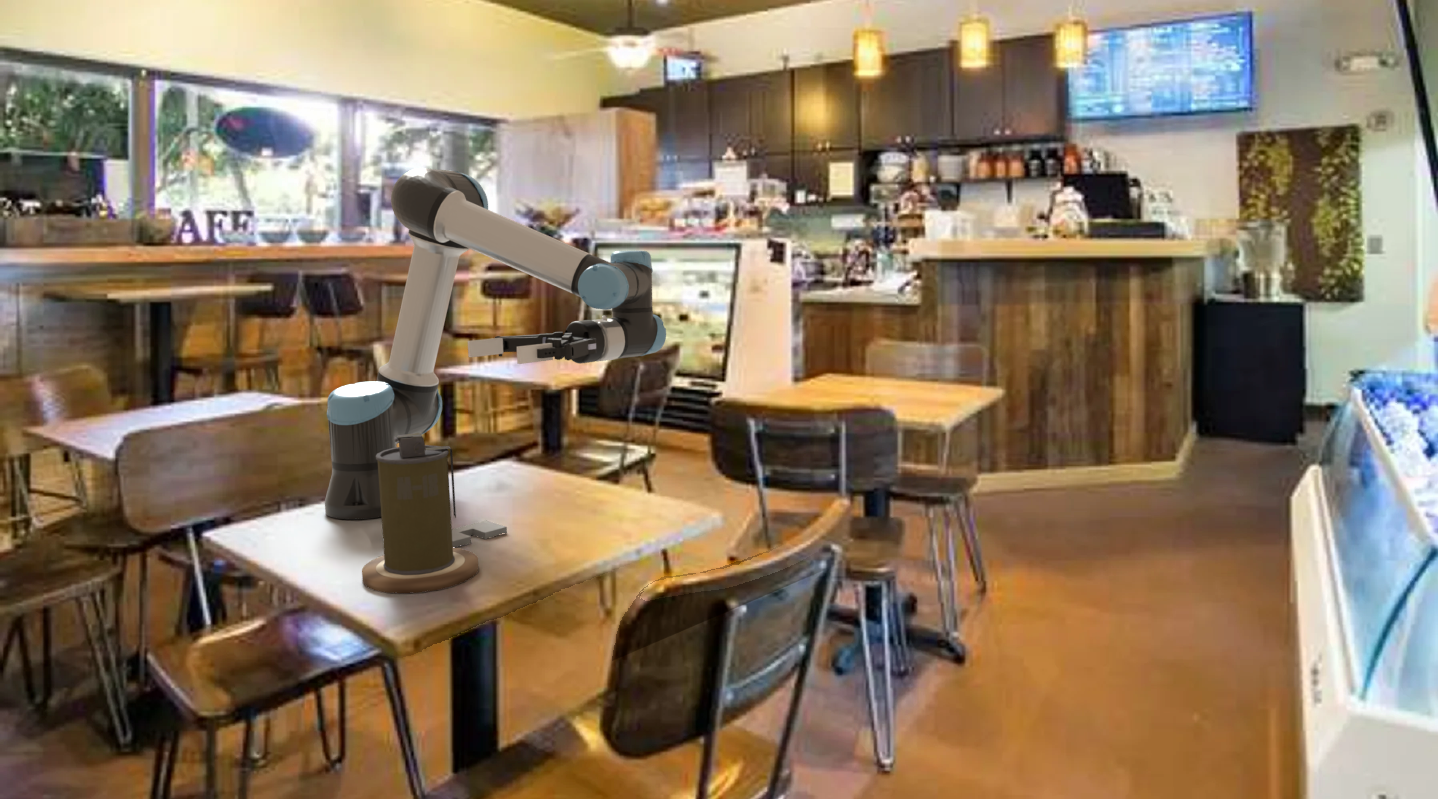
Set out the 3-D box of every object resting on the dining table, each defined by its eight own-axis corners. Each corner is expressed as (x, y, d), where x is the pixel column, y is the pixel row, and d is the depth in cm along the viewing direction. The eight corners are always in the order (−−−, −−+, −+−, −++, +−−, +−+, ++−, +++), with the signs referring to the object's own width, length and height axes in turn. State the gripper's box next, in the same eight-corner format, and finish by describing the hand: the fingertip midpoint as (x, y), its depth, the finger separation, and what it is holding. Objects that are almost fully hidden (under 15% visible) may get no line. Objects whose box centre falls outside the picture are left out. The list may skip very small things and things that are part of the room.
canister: (387, 579, 145) (377, 445, 142) (380, 558, 155) (371, 432, 151) (463, 568, 149) (455, 438, 146) (451, 549, 159) (444, 425, 156)
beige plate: (341, 575, 152) (340, 565, 152) (439, 548, 164) (439, 539, 164) (400, 602, 140) (399, 591, 140) (500, 571, 153) (500, 561, 153)
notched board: (428, 542, 168) (428, 535, 167) (486, 526, 176) (486, 520, 176) (448, 549, 164) (447, 542, 163) (507, 533, 172) (506, 526, 172)
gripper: (548, 316, 186) (449, 324, 170) (640, 323, 169) (539, 333, 154) (550, 356, 187) (451, 368, 171) (641, 367, 170) (541, 382, 155)
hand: (492, 352), depth 162 cm, fingers open, 13 cm apart
